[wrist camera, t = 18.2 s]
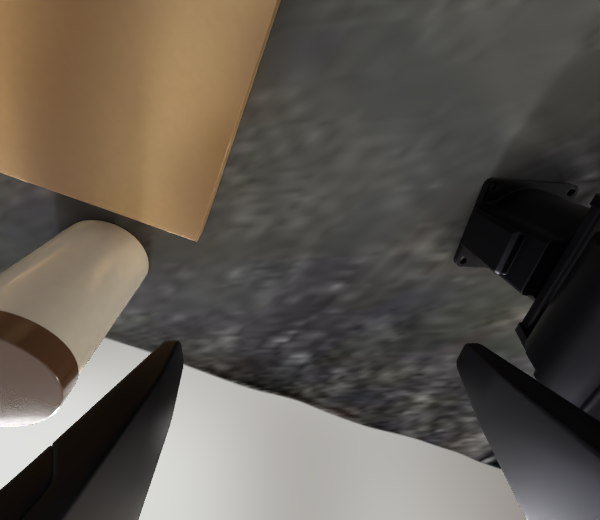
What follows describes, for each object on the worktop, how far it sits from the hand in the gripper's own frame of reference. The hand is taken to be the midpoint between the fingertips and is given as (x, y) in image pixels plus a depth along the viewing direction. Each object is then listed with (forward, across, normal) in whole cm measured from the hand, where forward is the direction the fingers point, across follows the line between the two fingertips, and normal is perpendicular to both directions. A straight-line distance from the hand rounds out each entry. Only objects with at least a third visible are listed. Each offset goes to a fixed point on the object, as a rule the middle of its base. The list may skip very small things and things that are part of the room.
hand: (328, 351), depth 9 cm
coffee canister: (+12, +13, +4) cm, 18 cm away
